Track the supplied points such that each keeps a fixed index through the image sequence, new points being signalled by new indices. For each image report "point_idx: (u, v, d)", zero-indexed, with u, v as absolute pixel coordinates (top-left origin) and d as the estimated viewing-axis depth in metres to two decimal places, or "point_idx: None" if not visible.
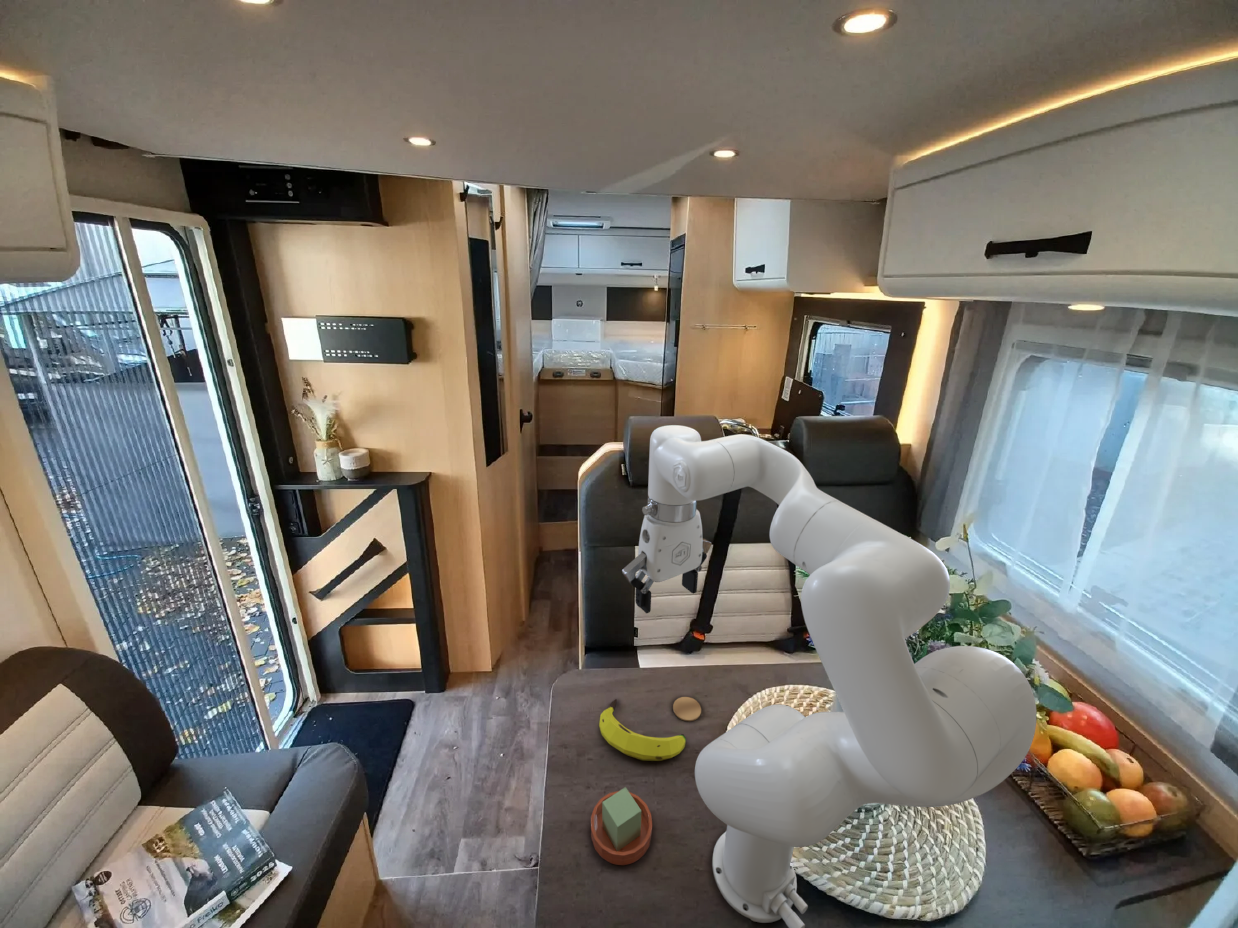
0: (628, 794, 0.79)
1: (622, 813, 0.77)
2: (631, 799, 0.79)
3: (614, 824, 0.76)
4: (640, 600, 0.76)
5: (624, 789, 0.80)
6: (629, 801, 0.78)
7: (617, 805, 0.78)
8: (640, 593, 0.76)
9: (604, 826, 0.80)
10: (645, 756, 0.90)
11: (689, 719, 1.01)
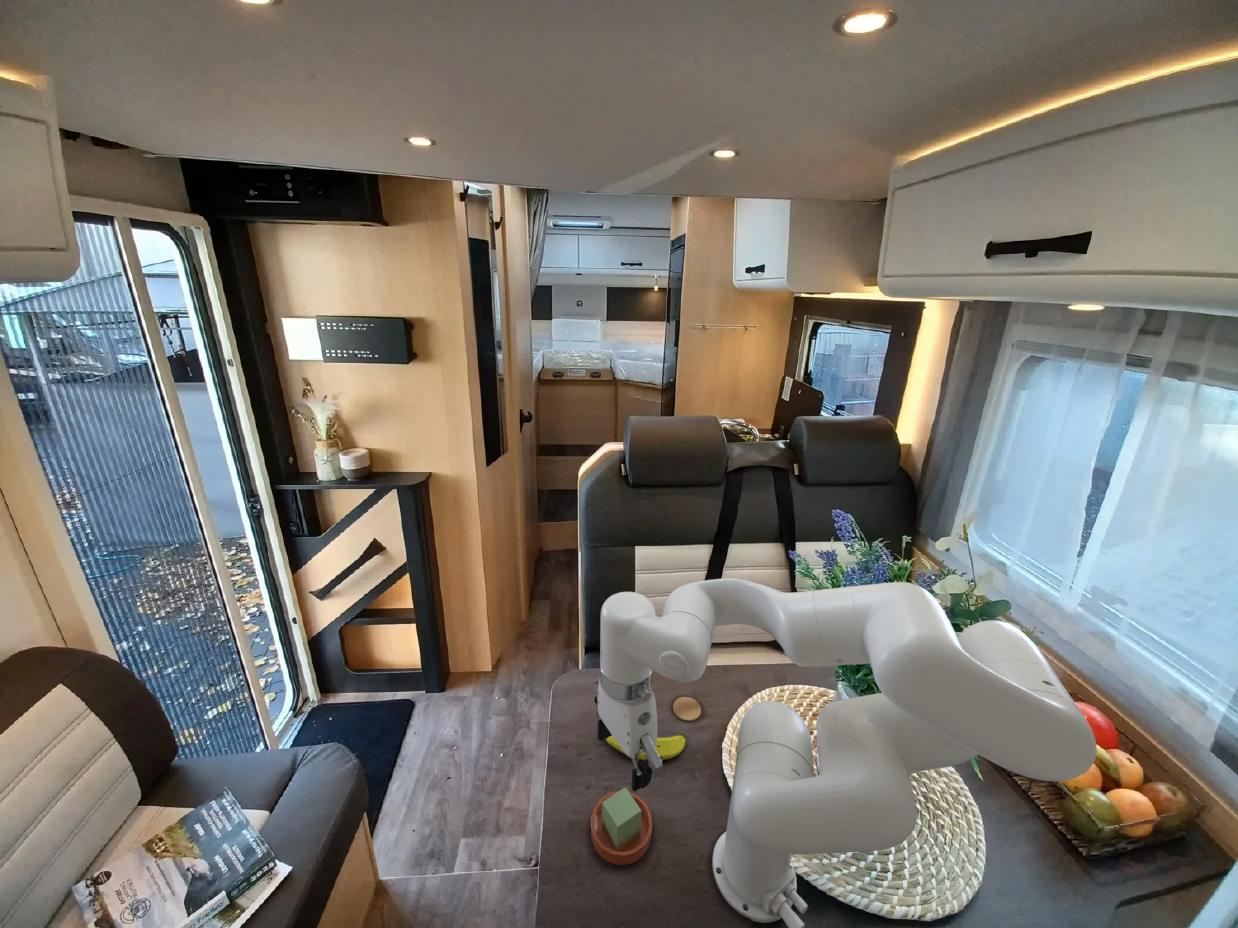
0: (628, 794, 0.79)
1: (622, 813, 0.77)
2: (631, 799, 0.79)
3: (614, 824, 0.76)
4: (648, 778, 0.70)
5: (624, 789, 0.80)
6: (629, 801, 0.78)
7: (617, 805, 0.78)
8: None
9: (604, 826, 0.80)
10: (645, 756, 0.90)
11: (689, 719, 1.01)
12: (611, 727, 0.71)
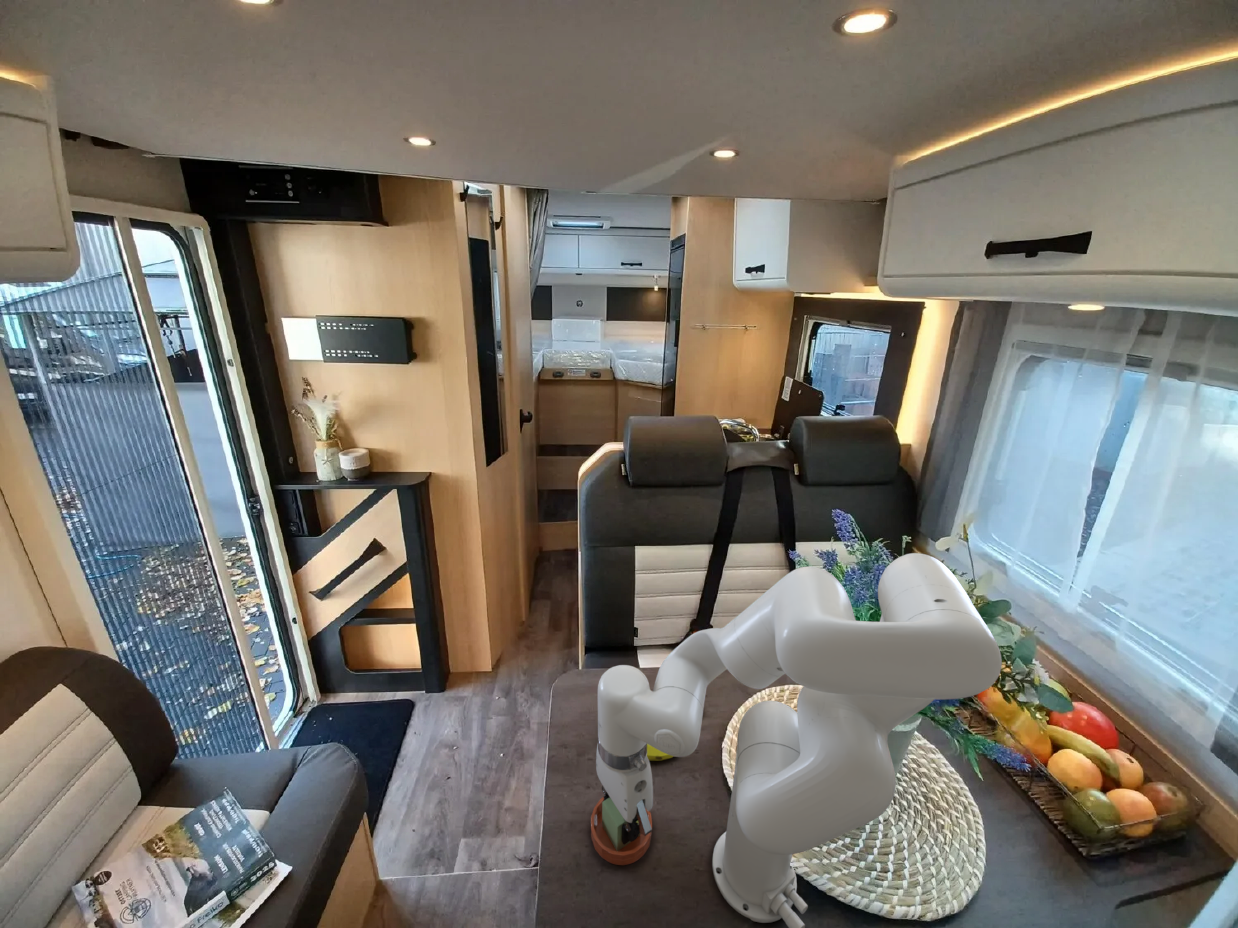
0: None
1: None
2: None
3: (614, 824, 0.76)
4: (637, 831, 0.76)
5: None
6: None
7: None
8: None
9: (604, 826, 0.80)
10: None
11: None
12: (609, 791, 0.75)
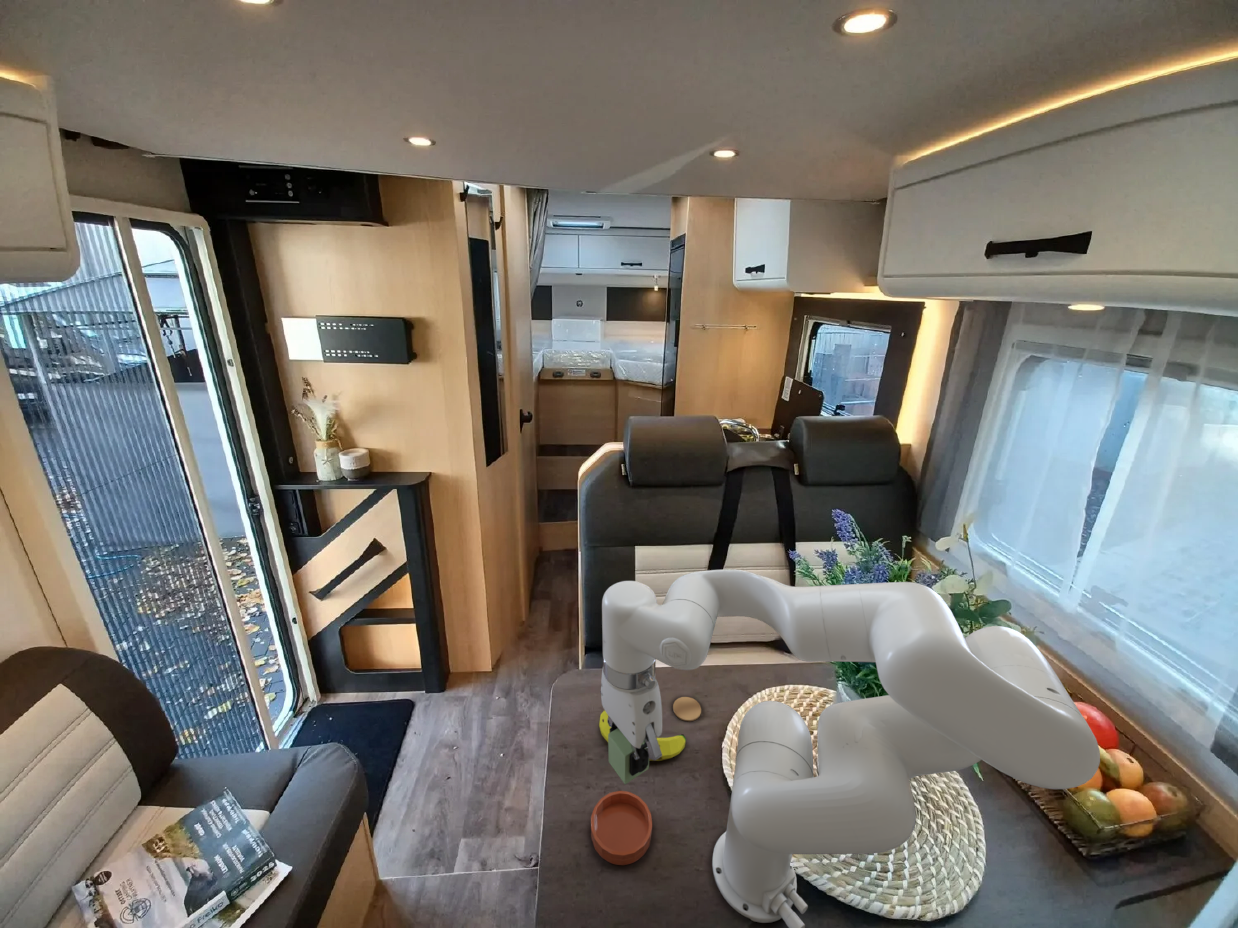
0: None
1: (629, 743, 0.73)
2: None
3: (622, 755, 0.72)
4: (646, 761, 0.72)
5: None
6: None
7: (623, 736, 0.74)
8: None
9: (610, 761, 0.76)
10: None
11: (689, 719, 1.01)
12: (616, 718, 0.71)
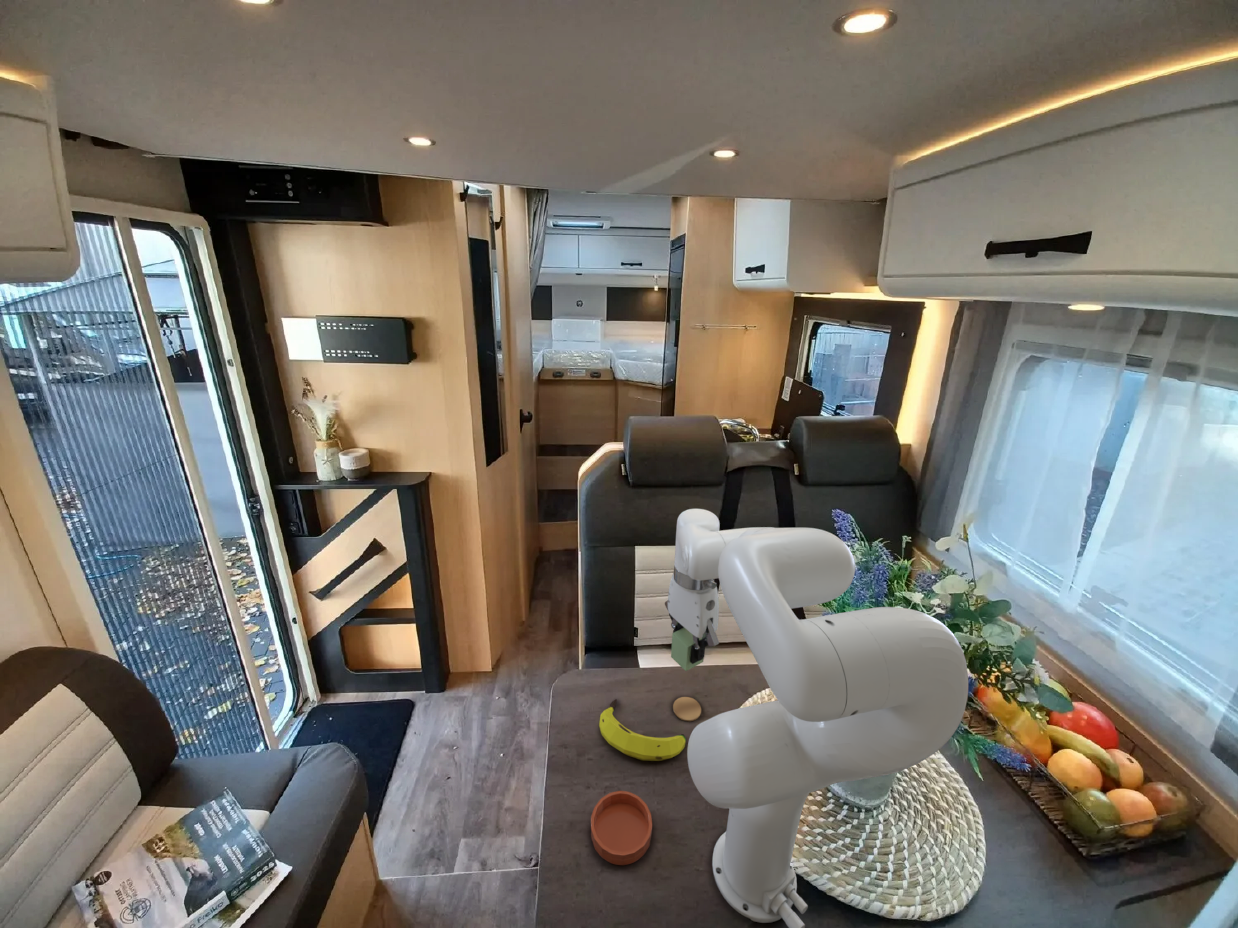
0: None
1: (690, 639, 0.93)
2: None
3: (684, 646, 0.92)
4: (703, 652, 0.92)
5: None
6: None
7: (685, 635, 0.94)
8: (703, 647, 0.92)
9: (673, 655, 0.96)
10: (645, 756, 0.90)
11: (689, 719, 1.01)
12: (682, 617, 0.91)
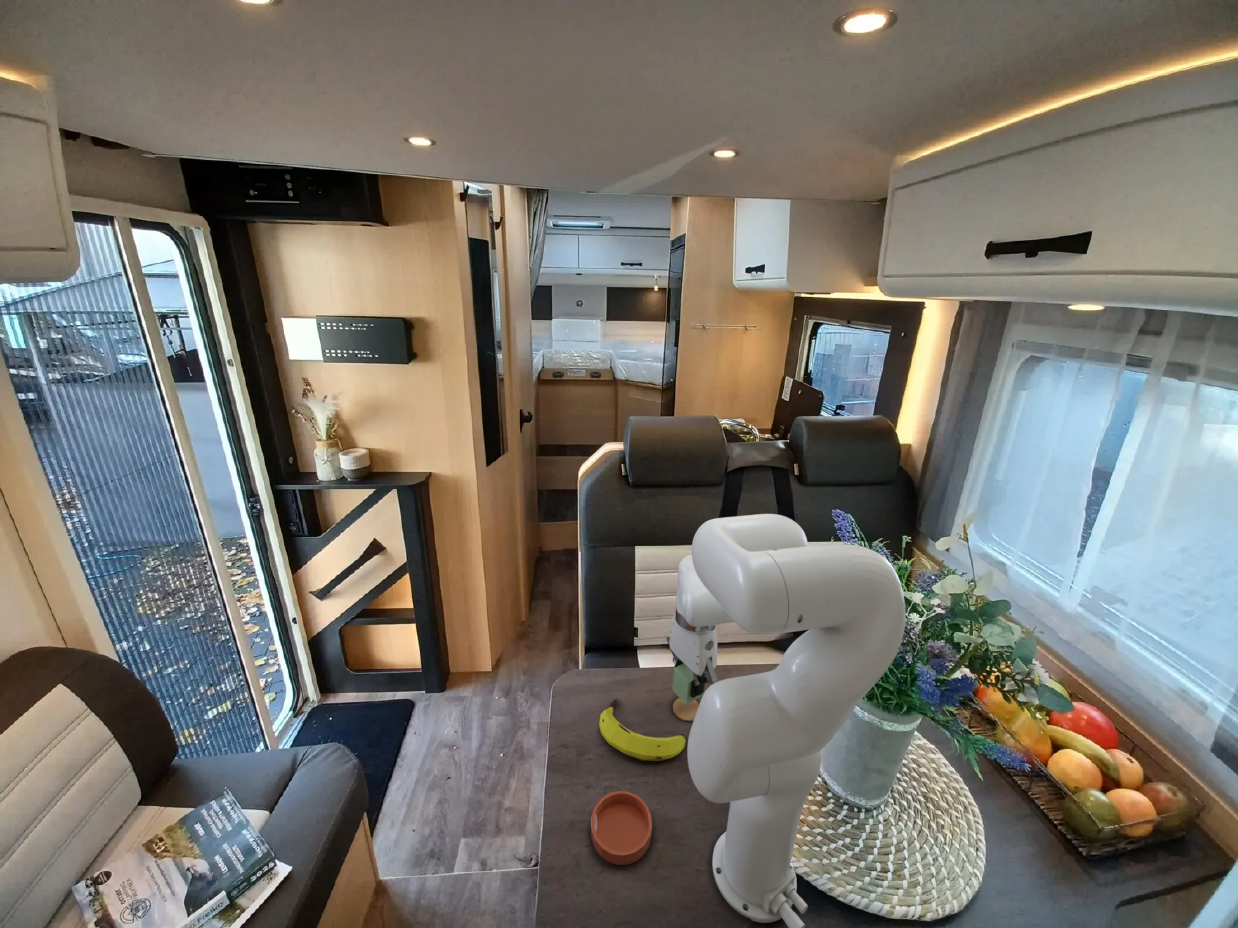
0: None
1: (690, 674, 0.99)
2: None
3: (685, 682, 0.98)
4: (703, 688, 0.98)
5: None
6: None
7: (685, 670, 1.00)
8: None
9: (674, 689, 1.02)
10: (645, 756, 0.90)
11: (689, 719, 1.01)
12: (682, 655, 0.97)
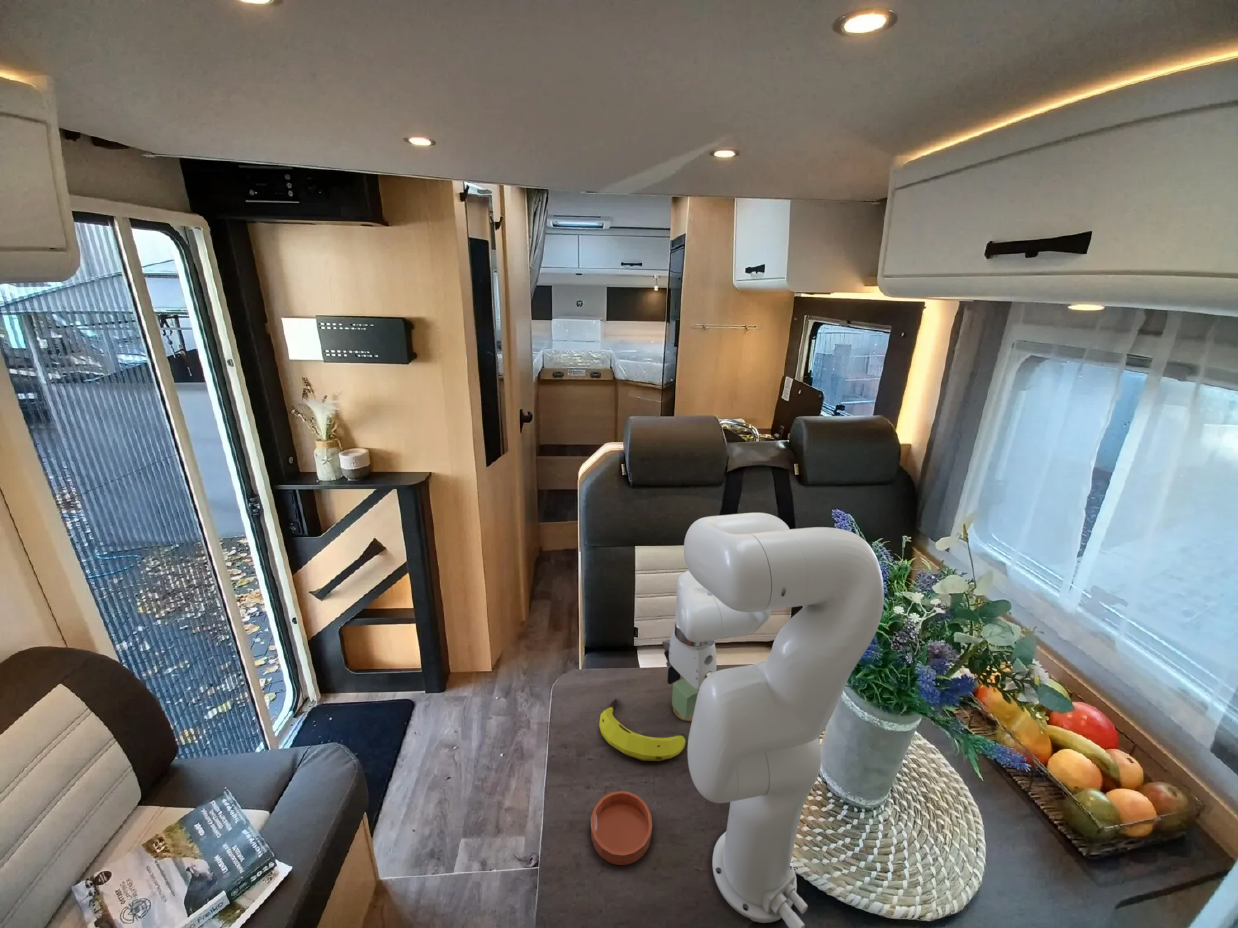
0: None
1: (689, 690, 1.00)
2: None
3: (684, 697, 0.99)
4: None
5: None
6: None
7: (684, 685, 1.01)
8: None
9: (673, 704, 1.03)
10: (645, 756, 0.90)
11: (689, 719, 1.01)
12: (682, 669, 0.98)
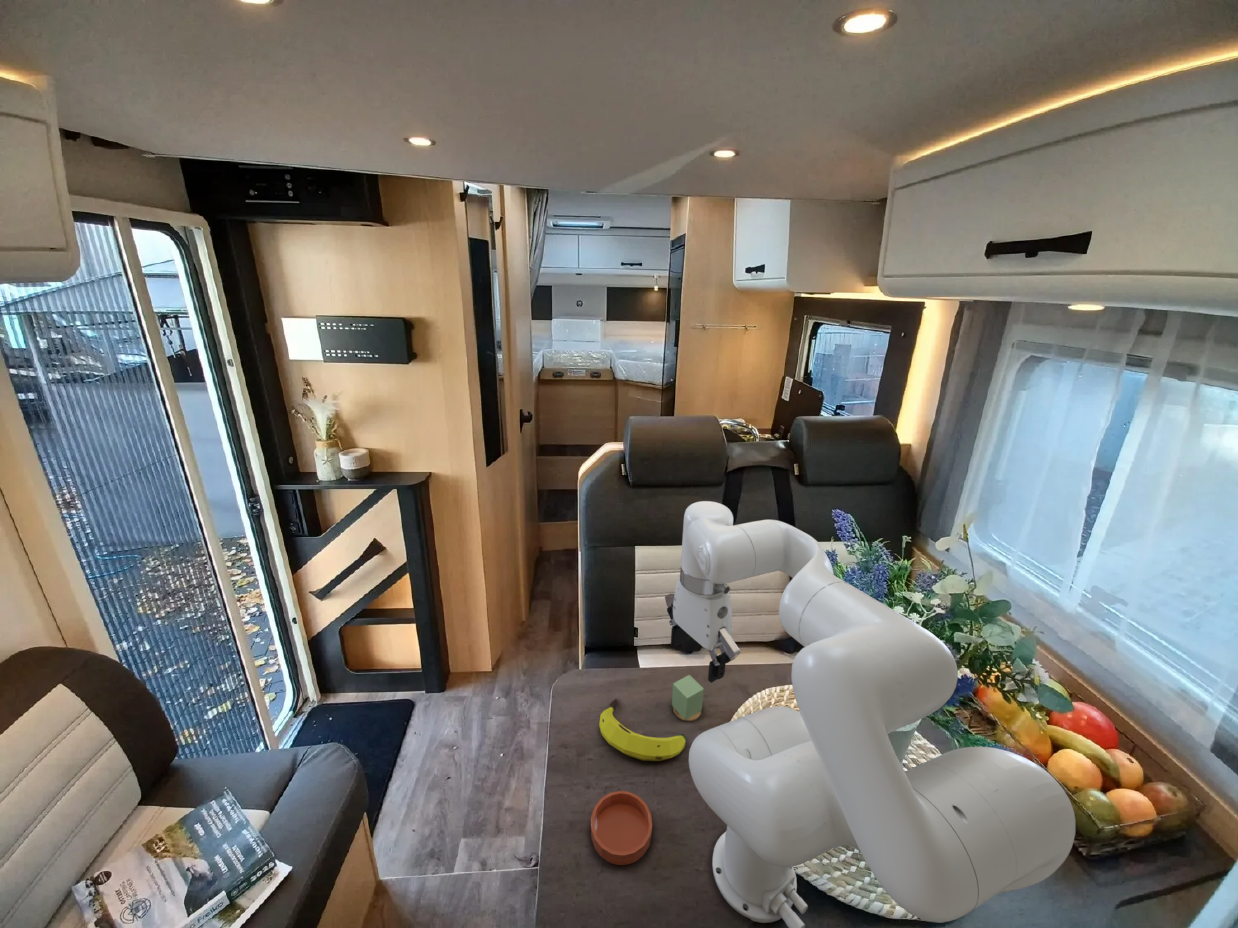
0: (692, 679, 1.03)
1: (689, 690, 1.00)
2: (695, 682, 1.02)
3: (684, 697, 0.99)
4: (723, 669, 0.79)
5: (688, 676, 1.04)
6: (693, 683, 1.02)
7: (684, 685, 1.01)
8: (724, 663, 0.78)
9: (673, 704, 1.03)
10: (645, 756, 0.90)
11: (689, 719, 1.01)
12: (689, 626, 0.80)
